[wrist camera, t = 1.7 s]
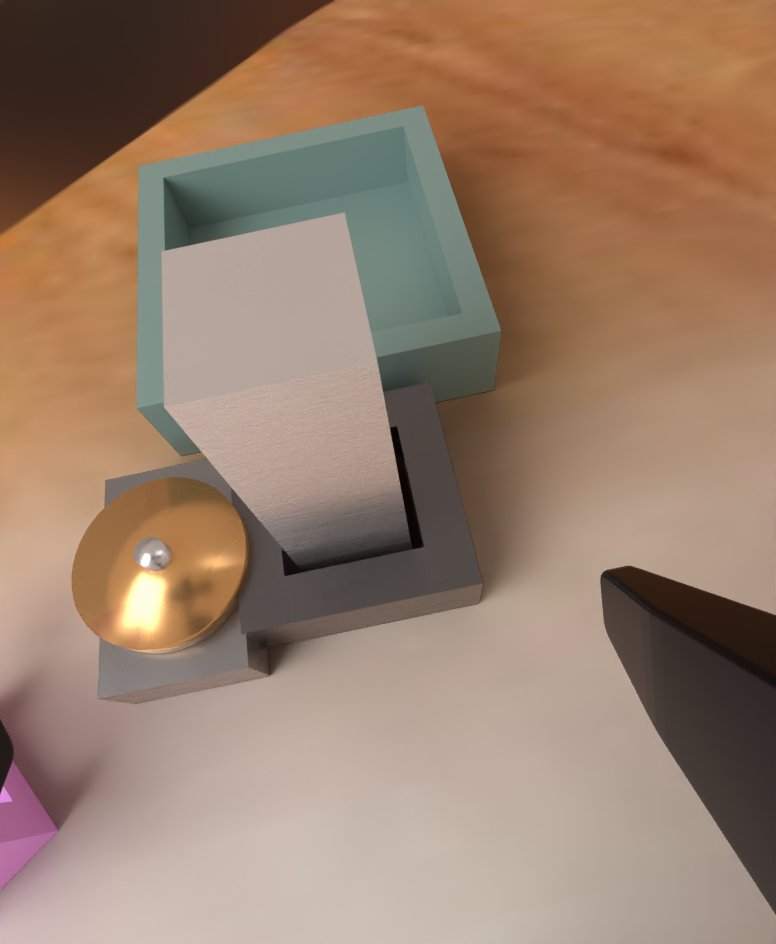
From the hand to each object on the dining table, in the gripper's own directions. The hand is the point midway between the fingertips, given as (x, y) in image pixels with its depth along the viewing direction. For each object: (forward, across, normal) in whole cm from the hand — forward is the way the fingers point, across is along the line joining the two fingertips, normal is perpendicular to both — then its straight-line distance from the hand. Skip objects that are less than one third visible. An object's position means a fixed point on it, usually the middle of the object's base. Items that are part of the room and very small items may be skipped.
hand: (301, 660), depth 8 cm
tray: (+23, 0, -4) cm, 23 cm away
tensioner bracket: (+14, +3, +5) cm, 15 cm away
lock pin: (+14, 0, +4) cm, 15 cm away
